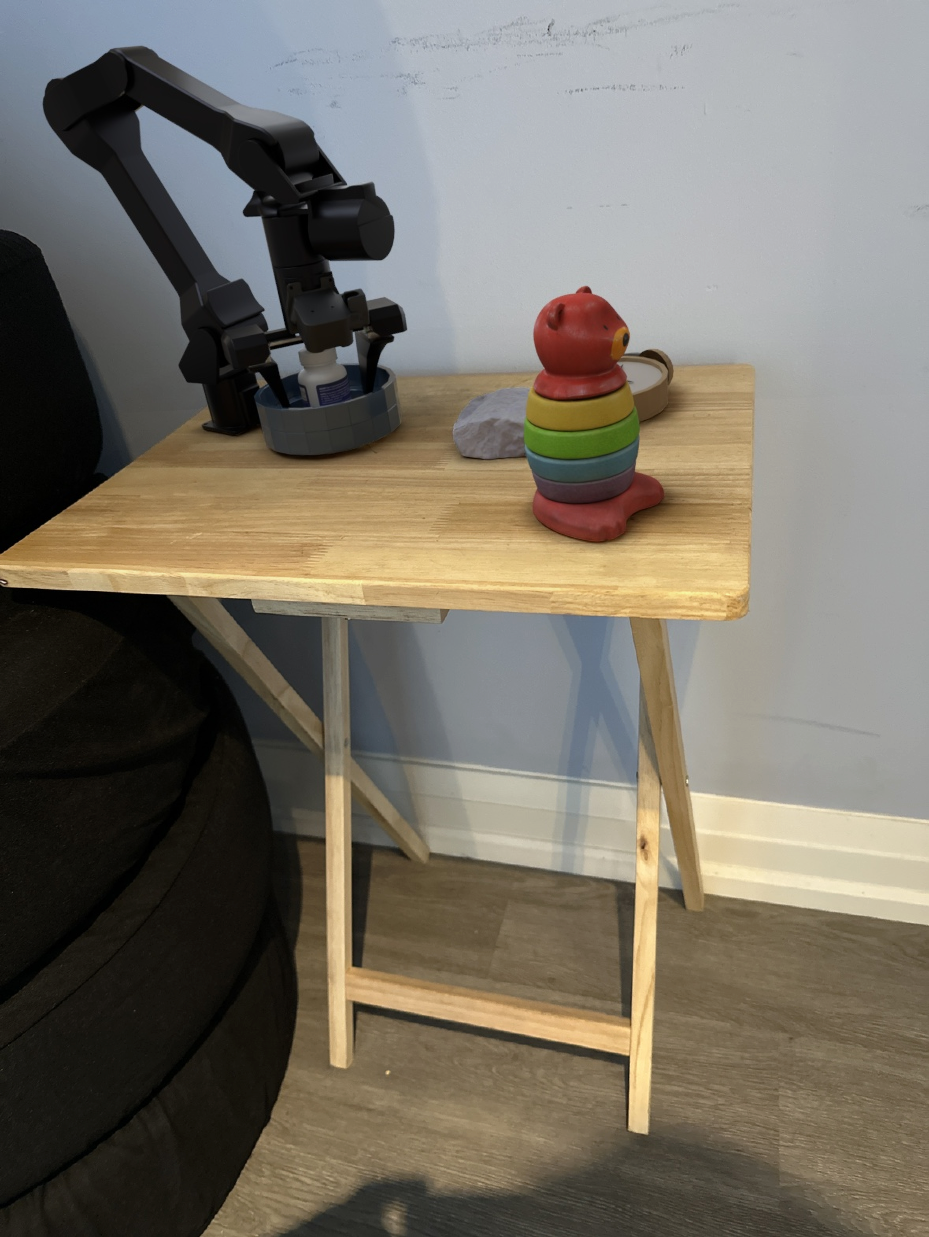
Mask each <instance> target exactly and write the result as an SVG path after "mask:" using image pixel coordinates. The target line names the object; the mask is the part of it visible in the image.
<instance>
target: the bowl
mask: <svg viewBox="0 0 929 1237" xmlns="http://www.w3.org/2000/svg"><path fill="white" fill-rule="evenodd" d="M340 364H341V365H343V366H344V367H345V369H346V372H347V377H348V382H349V387H350V393H351V398H352V399H351V400H348V401H345V402H340V403H335V404H330V405H325V406H316V407H307V408H304V405H303V400H302V396H301V391H300V387H299V382H298V375H299V373H300V371H301V370H299V371H295V372H292V373H289V374H285V375H282V376H280V377H281V380H282V383H283V385H284V388H285V391H286V394H287V397H288V400H289V403H290V405H291V408H282V407H281V406H280V404H279V402H278V400H277V399H276V397H275V395H274V394H273V392H272V390H271V389H270V387H269V385H268V384H267V383H265V385H263V386H261V387H260V389H259V390H258V391H257V393H256V394H255V395H254V398H255V402H256V407H257V411H258V415H259V419H260V423H261V424H260V426H261V431H262V435H263V440H264V443H265V445H266V447H267V448H269V449H270V450H273V451H274V452H277V453H282V454H287V455H293V456H295V455H296V456H297V455H299V456H319V455H320V456H321V455H329V454H330V455H331V454H337V453H343V452H347V451H351V450H355V449H357V448H361V447H364V446H366V445H369V444H372V443H375V442H377V441H378V440H381V439H383V438H385V437H387V436H388V435H390V434H392V433H393V432H394V431H395V430H396V429H397V428H399V427H400V425H401V423H402V420H403V413H402V407H401V401H400V393H399V388H398V382H397V375H396V373H395V372H394V371H393V370H392V368H391V367H387V366H384V365H382V364H378V365H377V370H376V376H375V382H374V388H373V392H371V393H369V394H366V395H364V393H363V389H362V384H361V377H360V369H359V362H347V363H346V362H345V363H344V362H343V363H340Z"/></svg>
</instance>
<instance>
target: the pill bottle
mask: <svg viewBox="0 0 929 1237" xmlns="http://www.w3.org/2000/svg"><path fill="white" fill-rule="evenodd" d="M337 353H338V352H337V347H335V348H330V349H326V350H324V351H323V352H321V353H311V352H309V351H307V349H306V348H305V346H303V347H301V348H300V349H298V351H297V355H298V359H299V360H298V361H299V363H300V365H301V366H302V367H303V369H301V370H299V371H300V373H299V375H298V382H299V387H300V391H301V396H302V400H303V405H304V408H307V407H316V406H325V405H330V404H335V403H340V402H345V401H348V400H351V399H352V398H351V393H350V387H349V382H348V377H347V372H346V369H345V367H344V366H343V365H341V364H342V363H339V362H337V361H338V354H337Z"/></svg>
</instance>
